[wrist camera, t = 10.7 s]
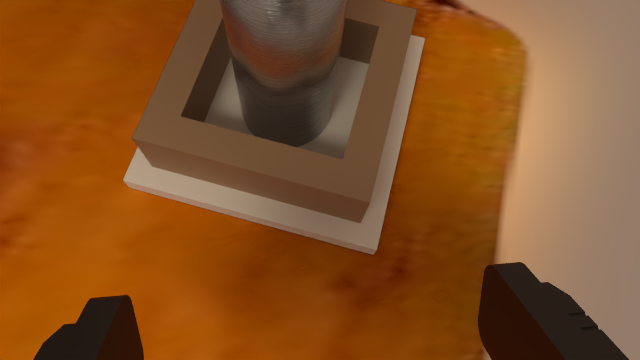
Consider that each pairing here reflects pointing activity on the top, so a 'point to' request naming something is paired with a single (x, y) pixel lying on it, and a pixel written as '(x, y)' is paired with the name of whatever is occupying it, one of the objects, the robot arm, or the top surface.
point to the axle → (285, 64)
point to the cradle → (276, 158)
